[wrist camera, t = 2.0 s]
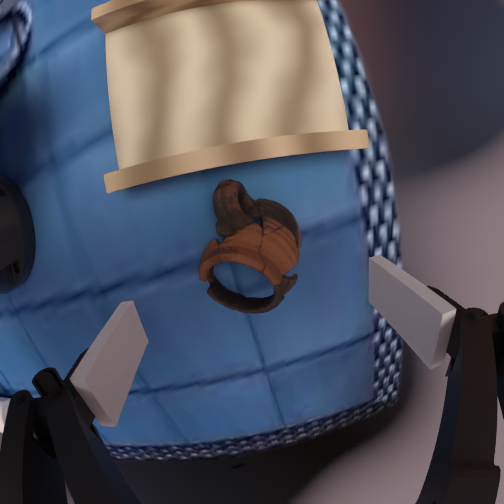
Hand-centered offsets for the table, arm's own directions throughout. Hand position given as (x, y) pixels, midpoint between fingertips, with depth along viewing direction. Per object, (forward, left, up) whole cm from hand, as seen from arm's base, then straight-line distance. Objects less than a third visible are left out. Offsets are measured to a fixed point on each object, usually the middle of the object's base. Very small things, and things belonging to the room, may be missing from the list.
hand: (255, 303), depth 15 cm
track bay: (+1, +17, -14) cm, 22 cm away
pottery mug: (+1, 0, -14) cm, 14 cm away
